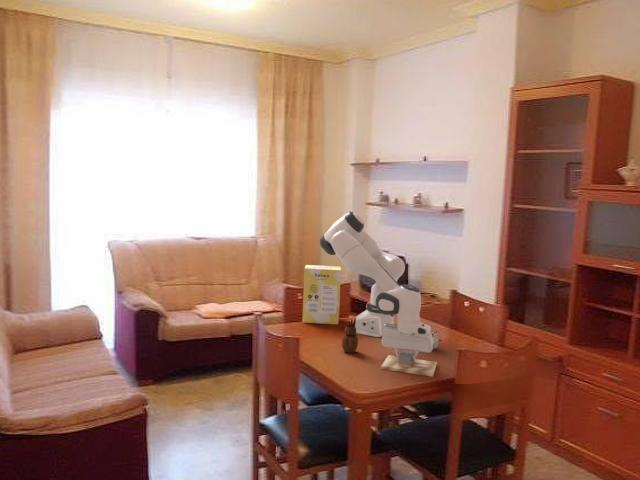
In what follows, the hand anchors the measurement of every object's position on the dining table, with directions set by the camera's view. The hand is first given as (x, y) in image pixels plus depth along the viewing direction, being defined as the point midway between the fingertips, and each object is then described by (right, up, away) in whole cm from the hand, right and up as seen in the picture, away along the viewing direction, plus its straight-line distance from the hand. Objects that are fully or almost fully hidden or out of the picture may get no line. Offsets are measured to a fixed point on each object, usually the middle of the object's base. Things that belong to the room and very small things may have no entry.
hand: (406, 359), depth 213 cm
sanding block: (0, -1, 0) cm, 1 cm away
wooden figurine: (-22, 0, +16) cm, 27 cm away
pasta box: (-34, +6, +64) cm, 73 cm away
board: (+1, -3, 0) cm, 3 cm away
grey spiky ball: (+15, -1, +24) cm, 28 cm away
